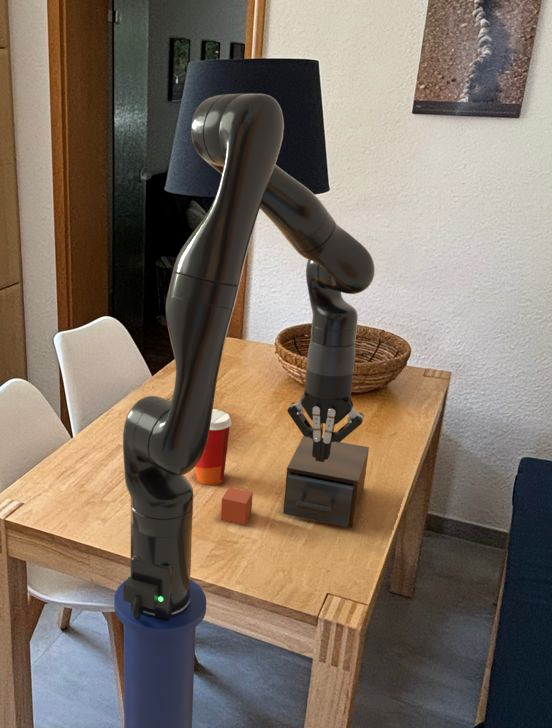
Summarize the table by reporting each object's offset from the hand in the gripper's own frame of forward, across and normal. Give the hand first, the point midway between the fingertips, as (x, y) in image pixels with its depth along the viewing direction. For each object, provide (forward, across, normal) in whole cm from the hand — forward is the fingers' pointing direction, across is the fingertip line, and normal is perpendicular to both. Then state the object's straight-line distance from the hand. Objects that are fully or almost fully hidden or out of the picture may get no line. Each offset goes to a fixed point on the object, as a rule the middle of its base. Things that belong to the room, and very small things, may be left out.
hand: (320, 459), depth 134 cm
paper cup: (+14, -23, +11) cm, 29 cm away
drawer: (+13, 0, +6) cm, 15 cm away
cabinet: (+14, 0, +11) cm, 18 cm away
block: (+14, -14, -1) cm, 20 cm away
